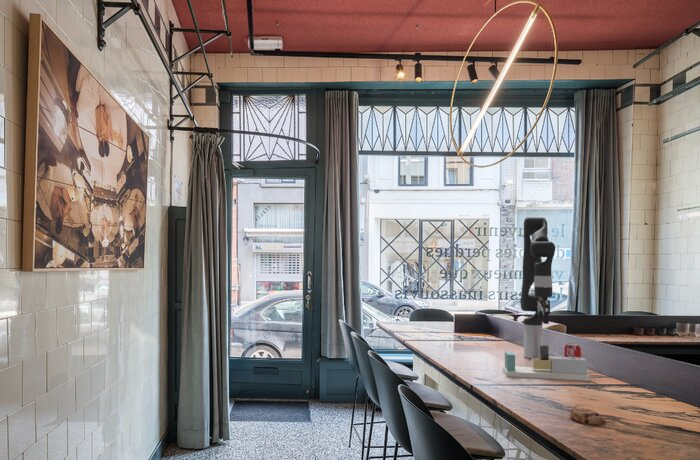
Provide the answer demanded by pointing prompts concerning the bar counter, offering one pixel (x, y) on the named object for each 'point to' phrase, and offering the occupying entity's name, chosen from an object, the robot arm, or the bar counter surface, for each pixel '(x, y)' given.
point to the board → (543, 374)
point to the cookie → (586, 416)
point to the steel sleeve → (568, 365)
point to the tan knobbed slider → (542, 359)
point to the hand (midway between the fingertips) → (543, 322)
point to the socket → (509, 361)
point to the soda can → (572, 350)
